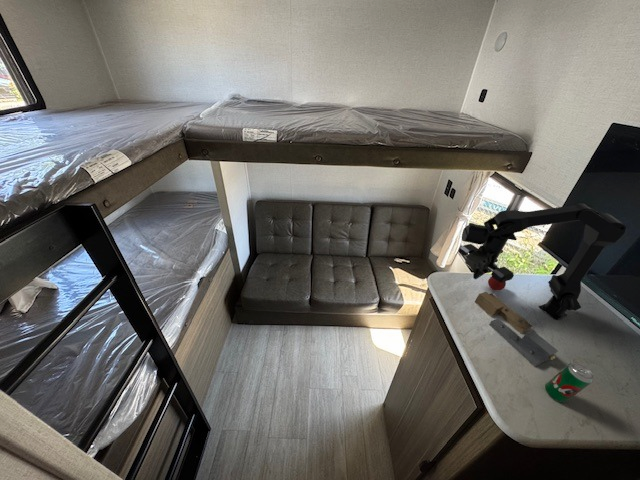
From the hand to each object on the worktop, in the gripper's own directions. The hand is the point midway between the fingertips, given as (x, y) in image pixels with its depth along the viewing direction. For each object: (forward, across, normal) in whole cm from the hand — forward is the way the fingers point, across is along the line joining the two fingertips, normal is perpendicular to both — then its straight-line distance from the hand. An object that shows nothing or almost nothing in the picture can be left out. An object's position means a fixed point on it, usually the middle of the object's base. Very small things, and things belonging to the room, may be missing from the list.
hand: (475, 278), depth 97 cm
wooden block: (+7, +13, +2) cm, 15 cm away
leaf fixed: (+7, +23, -2) cm, 24 cm away
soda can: (+8, +38, -8) cm, 39 cm away
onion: (+8, +2, +11) cm, 14 cm away
